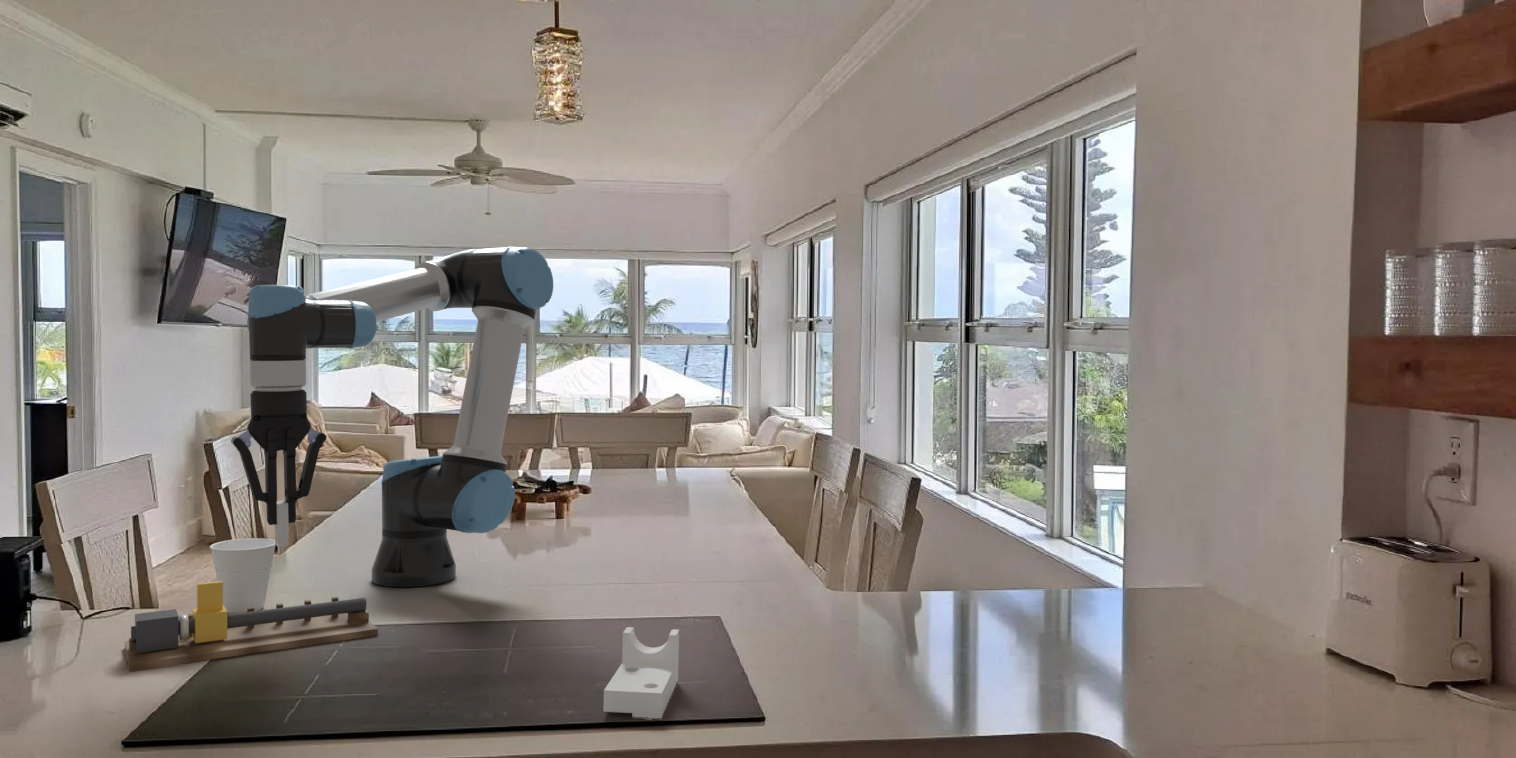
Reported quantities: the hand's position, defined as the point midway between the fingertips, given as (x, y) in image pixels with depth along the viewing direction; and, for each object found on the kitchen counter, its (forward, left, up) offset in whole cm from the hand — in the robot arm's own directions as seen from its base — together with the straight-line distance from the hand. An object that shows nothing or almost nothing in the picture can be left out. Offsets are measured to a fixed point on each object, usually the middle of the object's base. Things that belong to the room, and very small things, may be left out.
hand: (281, 544), depth 146 cm
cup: (+3, -20, -14) cm, 24 cm away
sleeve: (+10, 0, -13) cm, 16 cm away
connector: (+15, 0, -13) cm, 20 cm away
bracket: (-34, +52, -15) cm, 63 cm away
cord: (+4, 0, -12) cm, 12 cm away
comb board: (+4, 0, -14) cm, 14 cm away
